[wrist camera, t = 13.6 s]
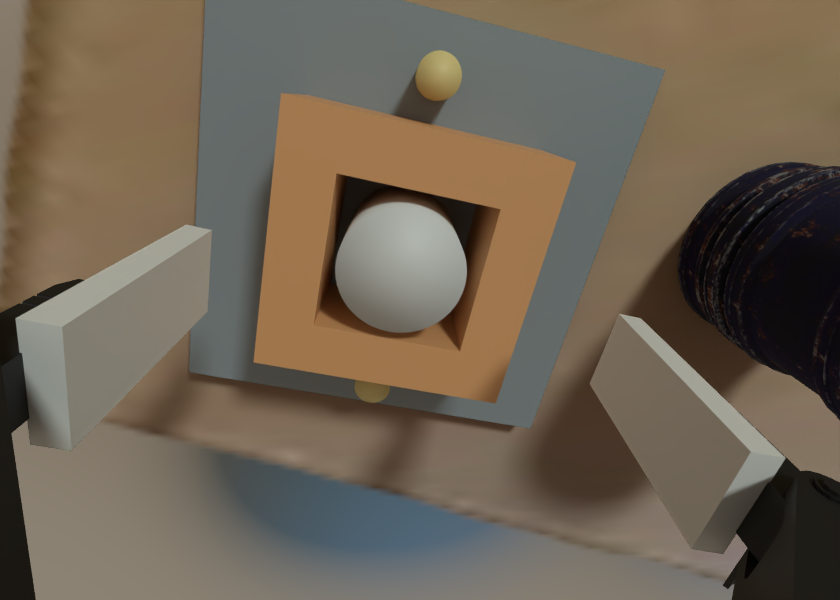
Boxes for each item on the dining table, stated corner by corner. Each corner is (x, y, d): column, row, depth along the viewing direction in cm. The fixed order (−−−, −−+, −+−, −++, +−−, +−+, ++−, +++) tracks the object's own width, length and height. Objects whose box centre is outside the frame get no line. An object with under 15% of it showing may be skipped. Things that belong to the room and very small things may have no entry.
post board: (220, -41, 20) (136, -107, 14) (649, 72, 23) (747, 59, 16) (199, 358, 28) (138, 436, 21) (524, 413, 30) (557, 498, 24)
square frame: (307, 95, 21) (280, 93, 17) (540, 149, 22) (576, 162, 18) (280, 314, 25) (253, 362, 21) (479, 351, 27) (495, 403, 22)
